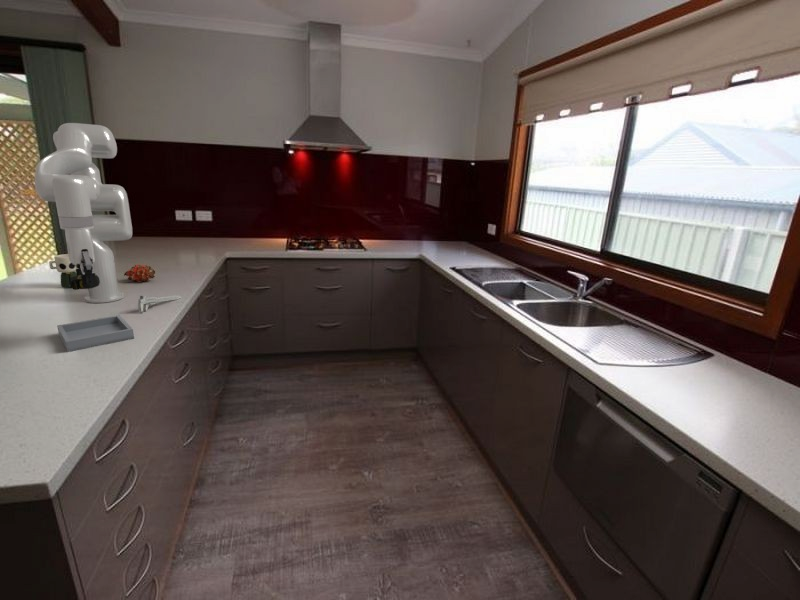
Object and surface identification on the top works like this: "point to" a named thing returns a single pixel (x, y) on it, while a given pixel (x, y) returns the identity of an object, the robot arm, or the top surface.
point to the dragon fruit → (140, 273)
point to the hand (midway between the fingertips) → (87, 283)
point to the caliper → (153, 301)
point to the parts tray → (94, 332)
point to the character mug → (64, 269)
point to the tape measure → (80, 282)
